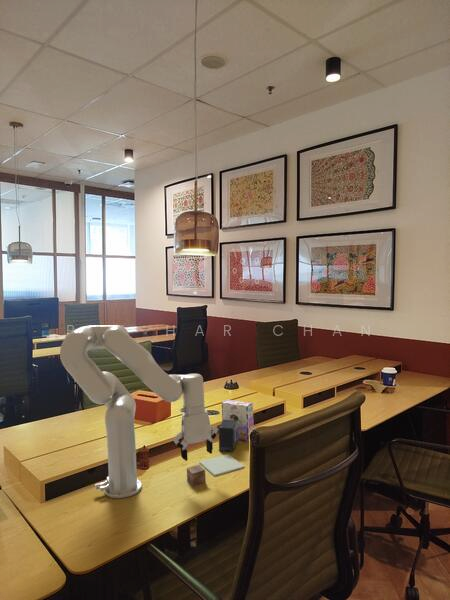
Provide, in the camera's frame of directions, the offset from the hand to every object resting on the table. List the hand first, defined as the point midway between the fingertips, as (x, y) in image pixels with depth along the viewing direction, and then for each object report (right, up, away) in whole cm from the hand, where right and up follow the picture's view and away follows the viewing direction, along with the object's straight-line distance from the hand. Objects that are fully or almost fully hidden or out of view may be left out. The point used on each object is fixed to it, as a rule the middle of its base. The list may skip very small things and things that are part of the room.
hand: (197, 455), depth 146 cm
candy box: (+16, -8, +41) cm, 45 cm away
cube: (0, -10, 0) cm, 10 cm away
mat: (+8, -9, +13) cm, 18 cm away
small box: (+11, -8, +31) cm, 34 cm away
